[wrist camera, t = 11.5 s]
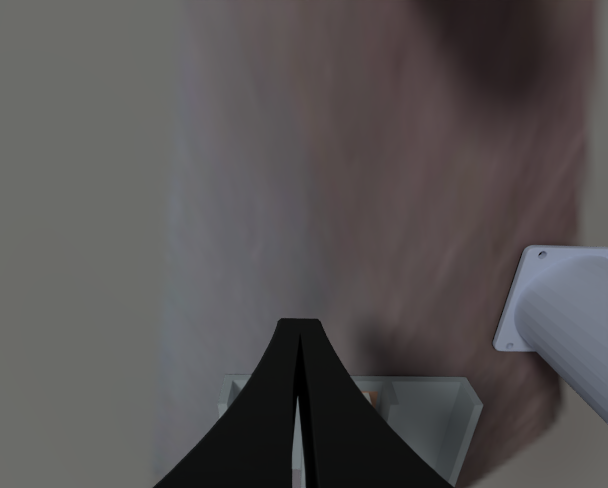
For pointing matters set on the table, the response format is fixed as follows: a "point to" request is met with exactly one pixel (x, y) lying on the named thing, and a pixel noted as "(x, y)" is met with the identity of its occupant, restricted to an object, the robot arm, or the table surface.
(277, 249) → the table surface
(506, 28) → the table surface
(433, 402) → the rack
